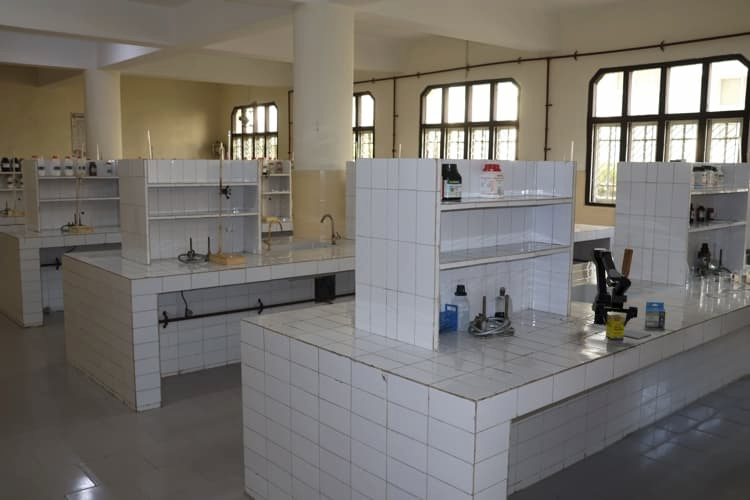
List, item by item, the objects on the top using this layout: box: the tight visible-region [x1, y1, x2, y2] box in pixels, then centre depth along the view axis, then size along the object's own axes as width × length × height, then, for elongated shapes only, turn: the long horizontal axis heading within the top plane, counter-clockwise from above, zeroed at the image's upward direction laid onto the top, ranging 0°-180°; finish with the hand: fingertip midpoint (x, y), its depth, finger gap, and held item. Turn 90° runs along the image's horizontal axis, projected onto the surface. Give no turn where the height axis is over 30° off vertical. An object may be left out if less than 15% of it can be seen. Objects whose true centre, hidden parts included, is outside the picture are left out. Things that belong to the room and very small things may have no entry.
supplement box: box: [605, 314, 626, 341], centre depth 317 cm, size 6×6×11 cm
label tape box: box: [644, 301, 666, 328], centre depth 342 cm, size 9×4×12 cm, turn 82°
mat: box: [624, 328, 652, 340], centre depth 325 cm, size 12×12×1 cm
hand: (615, 325), depth 316 cm, fingers closed on supplement box, 8 cm apart
